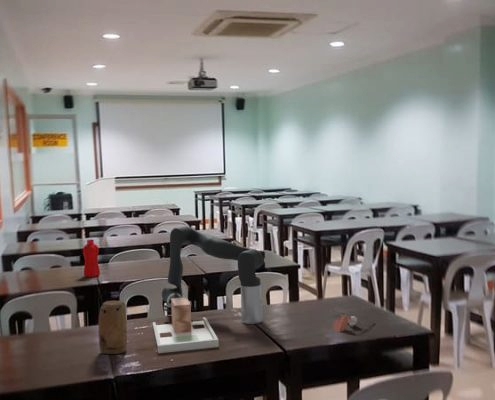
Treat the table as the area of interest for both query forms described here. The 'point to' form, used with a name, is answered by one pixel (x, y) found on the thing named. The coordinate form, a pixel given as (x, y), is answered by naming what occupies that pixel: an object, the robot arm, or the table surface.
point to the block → (112, 327)
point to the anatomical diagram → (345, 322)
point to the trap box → (185, 338)
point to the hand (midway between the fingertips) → (179, 311)
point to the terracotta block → (181, 315)
